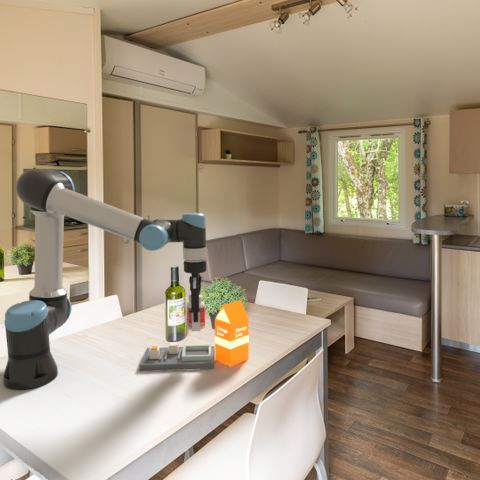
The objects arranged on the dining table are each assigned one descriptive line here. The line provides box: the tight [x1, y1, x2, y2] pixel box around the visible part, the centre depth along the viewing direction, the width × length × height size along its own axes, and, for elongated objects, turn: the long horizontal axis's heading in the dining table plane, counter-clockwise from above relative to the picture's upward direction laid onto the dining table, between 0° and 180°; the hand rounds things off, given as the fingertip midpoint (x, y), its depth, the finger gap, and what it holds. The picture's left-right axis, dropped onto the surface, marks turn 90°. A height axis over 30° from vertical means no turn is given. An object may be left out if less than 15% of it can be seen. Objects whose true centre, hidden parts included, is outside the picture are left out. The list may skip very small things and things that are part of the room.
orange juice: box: [214, 299, 250, 367], centre depth 144 cm, size 8×9×20 cm
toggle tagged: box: [149, 345, 161, 359], centre depth 142 cm, size 3×3×3 cm
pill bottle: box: [186, 294, 206, 331], centre depth 142 cm, size 6×6×11 cm
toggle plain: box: [168, 341, 180, 354], centre depth 146 cm, size 3×3×3 cm
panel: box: [139, 344, 216, 372], centre depth 144 cm, size 24×14×4 cm, turn 93°
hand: (196, 327), depth 143 cm, fingers closed on pill bottle, 6 cm apart
